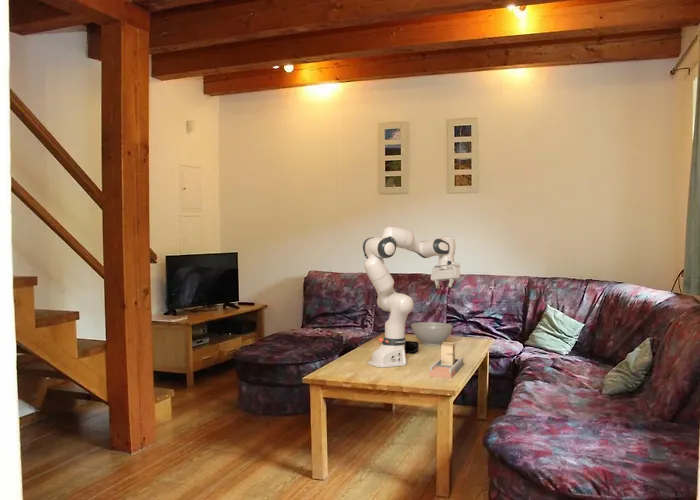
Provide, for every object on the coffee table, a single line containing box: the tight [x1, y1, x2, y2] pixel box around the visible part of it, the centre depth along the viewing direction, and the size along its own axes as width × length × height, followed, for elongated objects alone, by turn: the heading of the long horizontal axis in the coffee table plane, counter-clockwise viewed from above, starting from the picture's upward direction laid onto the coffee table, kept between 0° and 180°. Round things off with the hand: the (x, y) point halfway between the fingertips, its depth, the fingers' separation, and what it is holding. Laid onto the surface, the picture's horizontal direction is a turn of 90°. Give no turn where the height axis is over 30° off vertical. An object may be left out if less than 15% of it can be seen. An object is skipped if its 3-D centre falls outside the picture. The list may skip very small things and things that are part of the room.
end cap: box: [405, 340, 420, 355], centre depth 366 cm, size 10×7×7 cm
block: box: [440, 341, 456, 366], centre depth 321 cm, size 6×6×11 cm
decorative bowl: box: [410, 321, 454, 346], centre depth 394 cm, size 27×27×12 cm
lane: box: [429, 356, 464, 379], centre depth 319 cm, size 32×11×4 cm, turn 159°
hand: (443, 287), depth 348 cm, fingers open, 8 cm apart
